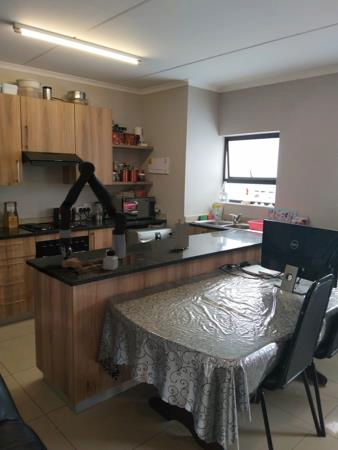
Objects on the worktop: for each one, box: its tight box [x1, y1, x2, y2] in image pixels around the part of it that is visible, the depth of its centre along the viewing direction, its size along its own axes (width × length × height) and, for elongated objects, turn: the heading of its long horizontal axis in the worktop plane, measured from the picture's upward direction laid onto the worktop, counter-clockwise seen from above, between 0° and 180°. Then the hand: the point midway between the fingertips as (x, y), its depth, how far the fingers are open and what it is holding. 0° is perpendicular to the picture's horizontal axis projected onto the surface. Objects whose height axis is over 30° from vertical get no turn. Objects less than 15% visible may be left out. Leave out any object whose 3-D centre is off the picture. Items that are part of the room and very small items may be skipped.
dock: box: [75, 262, 103, 275], centre depth 223 cm, size 17×8×3 cm, turn 143°
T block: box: [61, 257, 83, 269], centre depth 231 cm, size 10×11×4 cm
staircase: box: [173, 218, 190, 250], centre depth 292 cm, size 8×12×26 cm
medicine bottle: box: [102, 249, 119, 271], centre depth 228 cm, size 7×7×12 cm
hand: (65, 262), depth 236 cm, fingers closed
